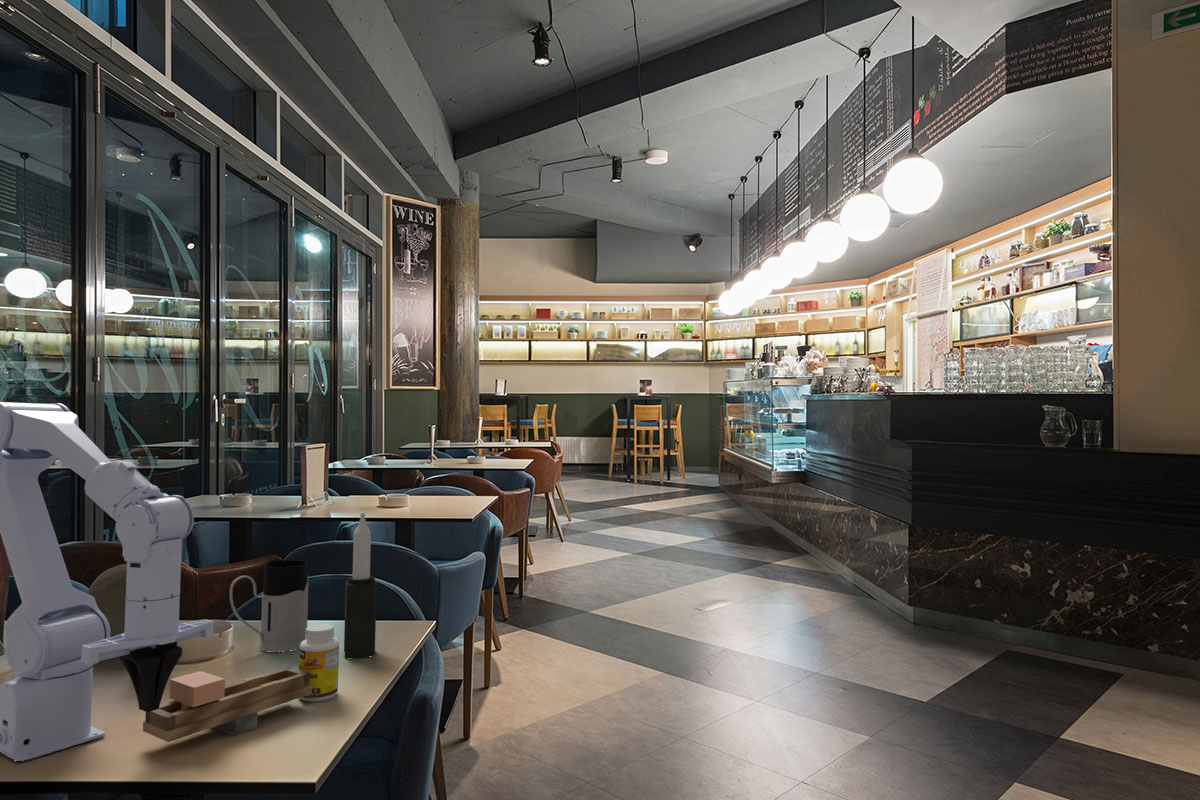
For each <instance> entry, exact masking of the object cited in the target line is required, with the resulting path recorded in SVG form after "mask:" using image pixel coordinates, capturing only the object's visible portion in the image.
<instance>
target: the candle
mask: <svg viewBox="0 0 1200 800" xmlns="http://www.w3.org/2000/svg"><path fill="white" fill-rule="evenodd" d="M359 515H360V518H359V522H358V525H357V527H356V528H355V530H354V531H353V550H352V576H350V577H348V578H347V580H345V592H344V593H345V594H344V595H345V597H344V629H343V630H344V632H343V633H344V637H343V644H344V645H343V653H344V652H345V653H344V658H345V657H346V658H356V659H360V658H359V657H366V658H370V657H369V656H372V657H374V656H375V655H376V633H377V632H376V628H377V627H376V624H377V623H376V622H377V621H376V620H377V590H378V589H377V584H378V583H377V580H376V579H375V576H373V575H371V544H372V543H371V540H372V538H371V537H372V531H371V530H370V528H369V527H368V524H367V521H366V513H365V512H361V513H360V514H359ZM374 654H375V655H374ZM373 655H374V656H373ZM346 658H345V659H346Z"/></svg>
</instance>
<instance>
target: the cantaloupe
mask: <svg viewBox="0 0 1200 800" xmlns="http://www.w3.org/2000/svg"><path fill="white" fill-rule="evenodd" d="M126 578H127V563H123V564H118V565H116V566H113V567H110V568H108V569H106V570H105V571H103V572H102V573H100V575H98V576H97V578H96V579H95V580H94V581H93V582H92V584H91V585H90V586H89V588H88V590H87V594H89V595H91V596H93V597H94V598H95V601H96V604H97V607H98V608H99V610H100V611H101V612H102V613H103V614H104V615H105V617H106V618H107V620H108V622H109V625H110V637H113V636H117V635H120V634H123V633H124V629H125V602H126Z"/></svg>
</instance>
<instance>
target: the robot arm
mask: <svg viewBox="0 0 1200 800" xmlns="http://www.w3.org/2000/svg"><path fill="white" fill-rule="evenodd" d="M79 424H80V423H79V416H78V415H77V414H76V413H74V412H72V411H71V410H70V409H69V407H68V406H67V405H64V404H63V403H59V402H55V403H53V402H51V403H38V402H37V403H34V402H33V403H31V402H10V401H9V402H8V401H7V402H5V401H0V538H1V539H2V543H3V547H4V549H5V552H6V556H7V558H8V562H9V565H10V568H11V572H12V575H13V578H14V580H15V585H16V586H17V590H18V594H19V597H20V599H21V604H20V605H19V606H18V607H17V608H16V609H15V610H14V611H13V612H12V613H11V615H10V616H9V617H8V618H7V620H6V621H5V623H4V624H3V628H4V631H5V637H6V647H5V655H6V657H5V658H6V660H7V663H8V665H9V666H10V668H11V669H12V670H13V671H14V672H15V673H16V676H17V678H15V679H12V680H9V681H5V682H3V683H1V684H0V752H2V753H4V754H5V755H7V756H9V757H10V759H11V758H12V759H14V760H16V761H22V762H25V761H24V760H26V761H28V760H27V759H29V760H31V759H35V758H38V757H41V756H44V755H47V754H51V753H55V752H58V751H61V750H63V749H64V750H65V749H67V748H71V747H73V746H77V745H79V744H83V743H84V744H85V743H87V742H90V741H92V740H96V739H99V738H102V737H104V736H105V734H106V732H105V731H103V730H101V729H99V728H96V727H95V726H92V705H93V701H92V700H93V679H94V665H95V664H98V663H99V662H101V661H104V660H108V659H115V658H118V657H119V660H120V662H121V663H122V664H123V666H124V668H125V670H126V672H127V673H128V675H129V677H130V679H131V682H132V685H133V688H134V691H135V694H136V699H137V704H138V709H139V711H140V710H141V711H143V712H145V713H146V712H150V711H154V710H157V709H159V706H160V705H161V703H162V698H163V695H164V692H165V689H166V686H167V683H168V681H169V680H170V679H169V678H170V676H171V674H172V672H173V670H174V669H175V667H176V665H177V664H178V662H179V661H180V659H181V658H182V655H183V647H181V646H178V643H183V642H188V641H191V640H195V639H201V638H205V639H206V638H210V637H212V638H213V637H214V631H215V629H214V627H215V626H214V625H215V624H214V623H215V621H213V620H208V619H200V620H194V621H186V622H180V599H181V598H180V597H181V596H180V595H181V577H182V576H181V573H182V572H181V571H182V570H181V569H182V547H183V546H182V545H183V544H182V543H183V540H184V539H186V538H187V537H188V536H190V535H189V534H190V533H191V532H192V531H193V526H194V522H195V521H194V519H195V518H194V512H193V511H194V510H193V509H192V507H191V505H190V503H189V502H188V501H187V499H186V498H185V497H184V496H182V495H178V494H171V495H169V494H167V493H166V492H164V493H163V492H162V491H161V489H160V488H159V486H157V485H154V484H152V483H151V482H150V481H149V480H148V479H147V478H145V477H144V476H143V475H142V474H141V473H140V472H138V470H137V468H138V467H137V465H135V464H134V463H133V462H132V461H124V460H112V461H111V460H110V459H109V458H108V456H107V455H106V454H105V453H103V451H102V450H101V449H100V448H99V447H98V446H97V445H96V444H95V443H94V442H93V441H92V439H90V437H89V436H87V434H85V432H84V431H83V430H82V429H81V428H80V427H79V426H80V425H79ZM56 460H58V461H59V462H61V463H62V464H64V465H65V466H66V467H68V468H69V469H70V470H72V471H73V472H74V473H76V474H77V475H79V477H81V478H82V479H83V480H85V483H84V493H85V495H86V496H87V497H89V498H90V499H91V500H92V501H93V502H94V504H96V505H97V506H98V507H99V508H101V509H102V511H104V512H105V513H106V514H107V515H108V516H110V518H112V519H113V520H114V521H115V532H116V535H117V538H118V540H119V542H120V543H121V546H122V547H121V548H122V557H123V560H124V561H125V562H126V564H127V578H126V602H125V629H124V633H123V634H120V635H117V636H113V637H110V625H109V622H108V620H107V618H106V617H105V615H104V614H103V613H102V612H101V611H100V610H99V608H98V607H97V604H96V601H95V598H94V597H93V596H91V595H89V594H87V593H86V592H85V591H83V590H80V589H78V588H76V587H74V586H73V584H72V582H71V579H70V576H69V572H68V570H67V567H66V563H65V560H64V556H63V553H62V551H61V548H60V545H59V542H58V538H57V536H56V532H55V529H54V525H53V523H52V521H51V517H50V513H49V511H48V509H47V505H46V502H45V499H44V496H43V493H42V489H41V486H40V484H39V479H38V478H39V476H40V474H41V473H42V472H44V471H46V470H47V469H49V468H50V467H51V466H52V465H53V463H54V462H55V461H56ZM54 751H55V752H54ZM2 753H1V754H2ZM4 754H3V755H4ZM5 755H4V756H5ZM7 756H6V757H7ZM9 757H8V758H9ZM12 759H11V760H12ZM14 760H13V761H14ZM16 761H15V762H16Z"/></svg>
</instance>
